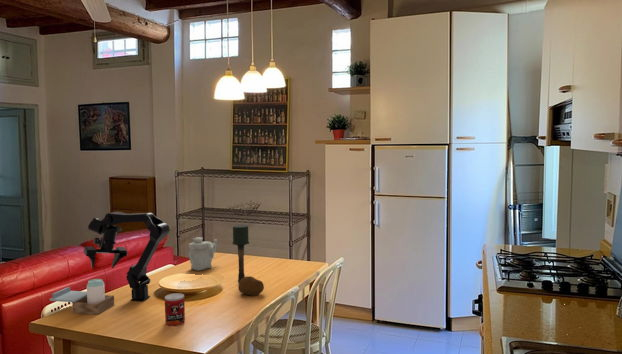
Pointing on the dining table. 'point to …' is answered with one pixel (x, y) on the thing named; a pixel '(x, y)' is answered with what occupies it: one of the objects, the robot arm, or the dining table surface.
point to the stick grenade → (240, 245)
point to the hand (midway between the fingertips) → (102, 268)
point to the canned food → (174, 309)
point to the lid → (68, 295)
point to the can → (95, 291)
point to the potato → (250, 286)
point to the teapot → (201, 253)
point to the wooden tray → (92, 305)
